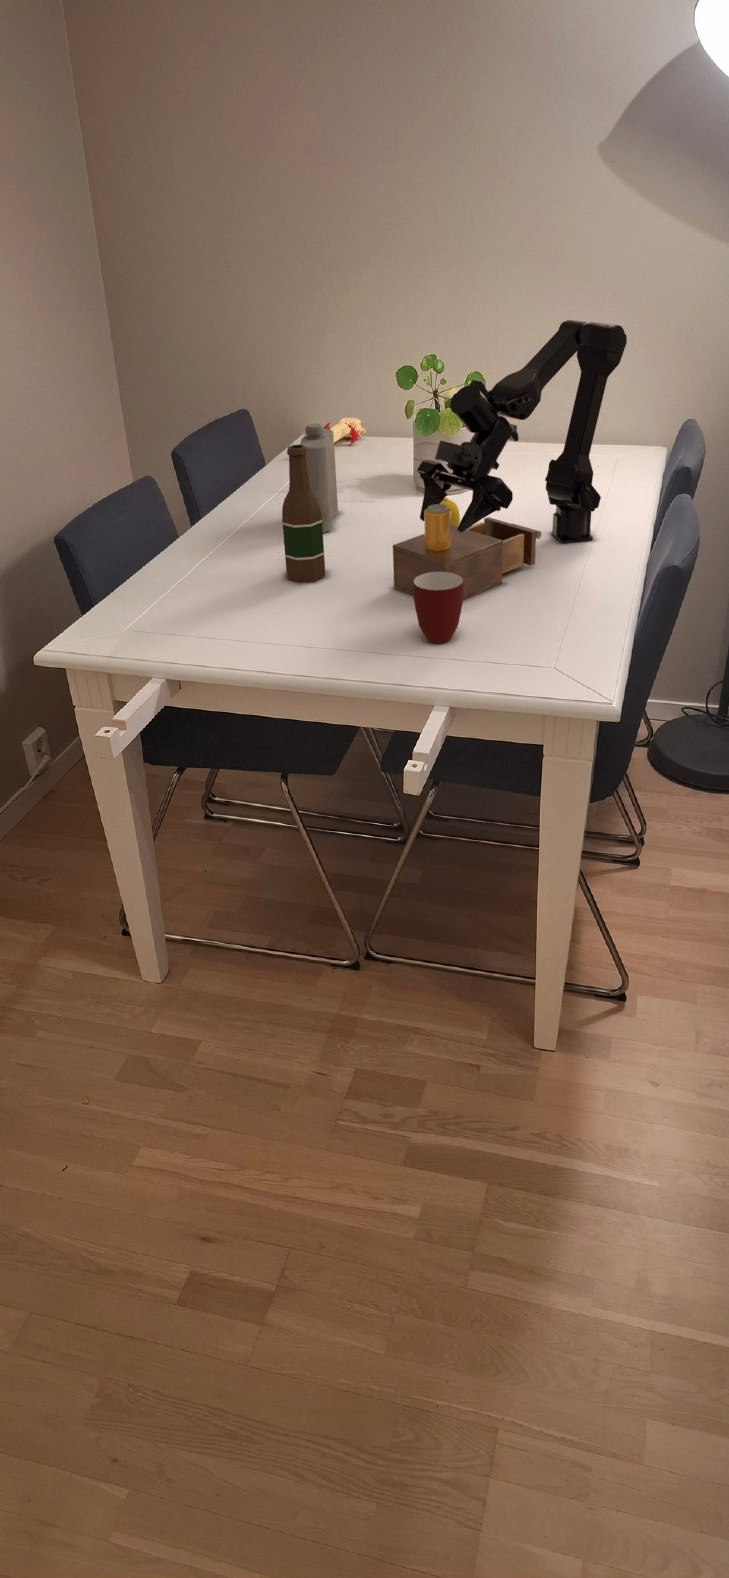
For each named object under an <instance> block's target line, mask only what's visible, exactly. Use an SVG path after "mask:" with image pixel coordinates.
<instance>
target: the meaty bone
mask: <svg viewBox="0 0 729 1578" xmlns="http://www.w3.org/2000/svg"><path fill="white" fill-rule="evenodd" d="M332 423H333V421H330V422H328V423H326V424H325V425H323V429H330V430H332V431H333V434H334V444H335V443H336V442H337V441H339V440H341V439H343V438H351V440H350V443H348V446H351V445H353V444H354V443H356V441H358V439H359V438H360V437H362V435H364V434H365V433H366V431H367V430H366V428H363V427H362V426H363V422H362V420H361V419H360V418H357V417H343V418H342V419H340V420H339V421H338V422H337V423H338V424H334V425H333V426H332V427H330V424H332Z"/></svg>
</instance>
